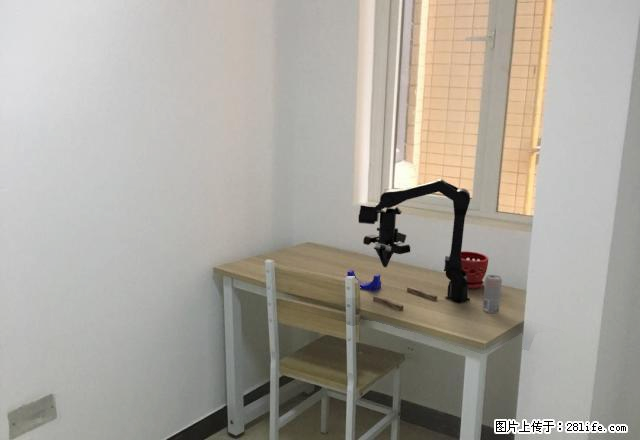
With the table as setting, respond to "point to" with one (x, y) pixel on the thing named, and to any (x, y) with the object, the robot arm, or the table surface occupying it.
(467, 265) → the plant pot
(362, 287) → the cable clip
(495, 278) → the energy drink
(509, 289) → the table surface
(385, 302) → the brown wooden bars
